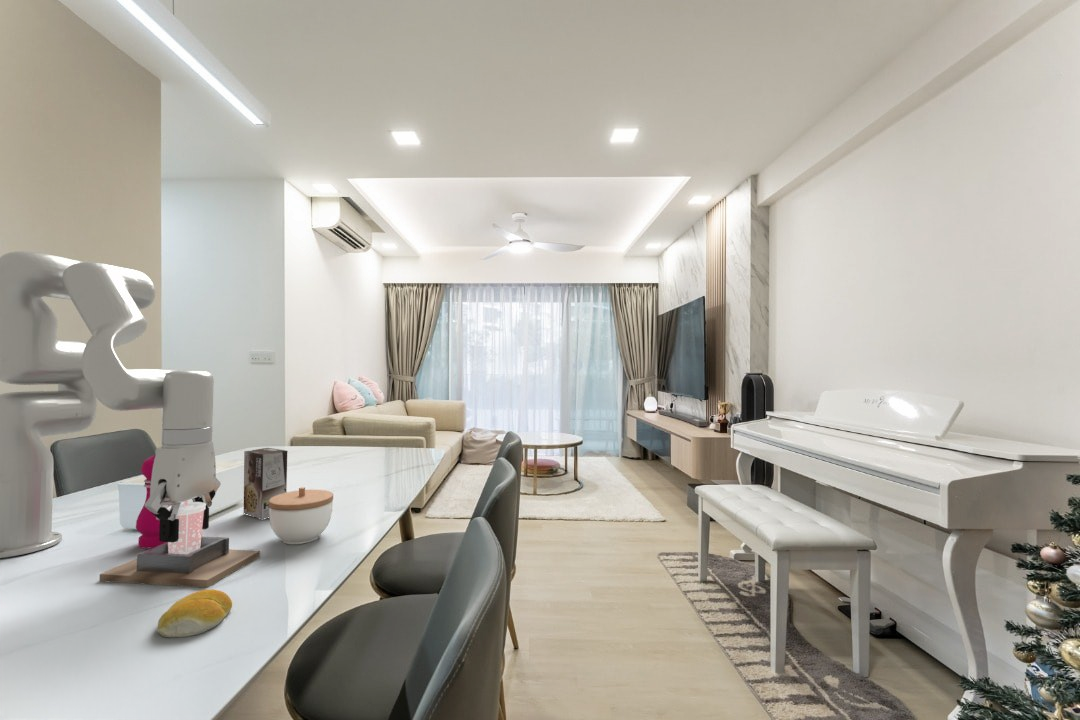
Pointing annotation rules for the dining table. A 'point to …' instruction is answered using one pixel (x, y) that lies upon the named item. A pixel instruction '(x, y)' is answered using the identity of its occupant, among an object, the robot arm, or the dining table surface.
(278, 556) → the dining table surface
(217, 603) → the bread roll
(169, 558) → the cup holder
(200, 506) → the beverage cup
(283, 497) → the lidded bowl
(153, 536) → the pepper mill
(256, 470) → the coffee box
